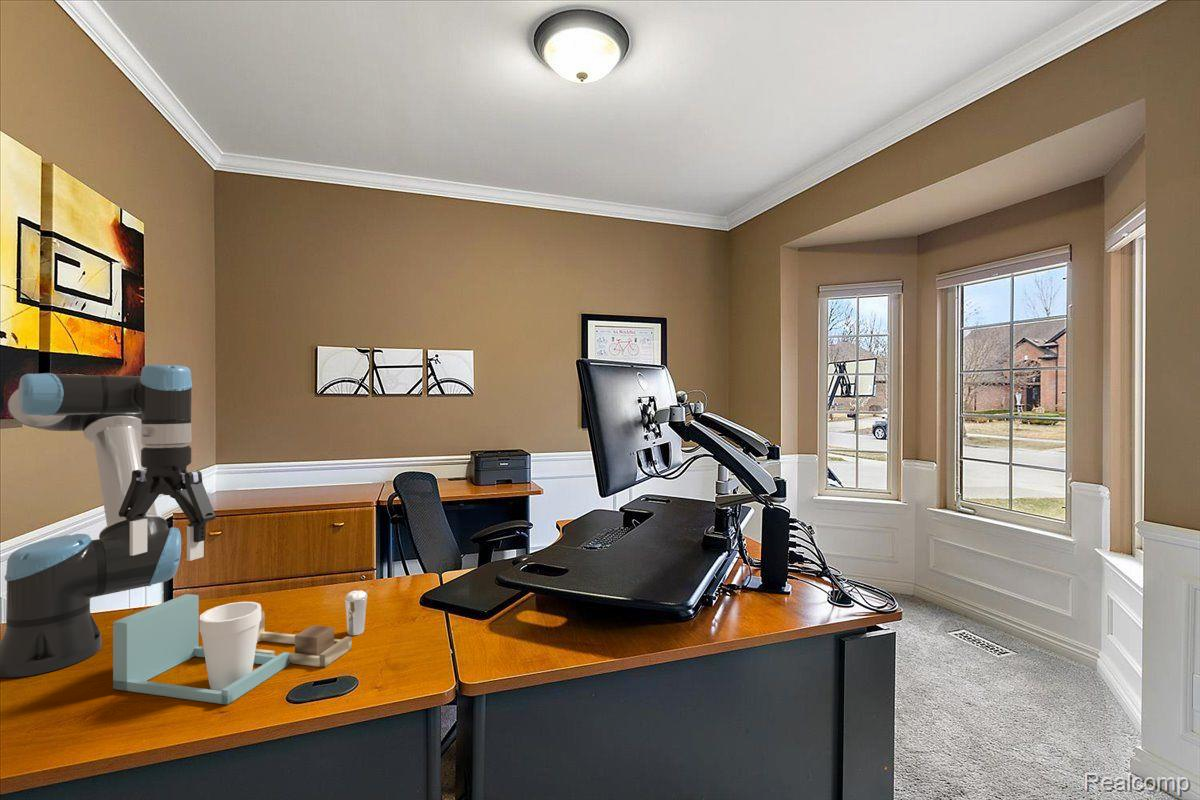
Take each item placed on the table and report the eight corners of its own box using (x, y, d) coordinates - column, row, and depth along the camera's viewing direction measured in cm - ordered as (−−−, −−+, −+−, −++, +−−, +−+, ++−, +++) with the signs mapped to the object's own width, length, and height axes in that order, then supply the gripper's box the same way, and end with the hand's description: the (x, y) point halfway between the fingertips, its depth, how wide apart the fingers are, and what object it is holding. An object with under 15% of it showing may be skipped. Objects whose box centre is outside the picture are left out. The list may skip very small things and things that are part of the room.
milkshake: (361, 638, 117) (362, 592, 117) (340, 636, 118) (340, 590, 118) (374, 629, 121) (374, 585, 121) (353, 627, 122) (353, 583, 122)
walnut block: (294, 660, 107) (294, 635, 107) (312, 648, 112) (312, 625, 112) (316, 663, 106) (316, 637, 106) (333, 651, 111) (334, 627, 111)
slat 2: (280, 662, 106) (280, 649, 106) (309, 643, 114) (309, 632, 114) (325, 667, 104) (325, 655, 104) (351, 648, 112) (351, 636, 112)
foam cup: (188, 687, 97) (188, 615, 97) (242, 664, 105) (242, 598, 105) (217, 701, 92) (217, 626, 92) (271, 676, 101) (272, 607, 101)
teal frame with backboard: (113, 688, 96) (113, 621, 96) (186, 652, 109) (186, 593, 109) (227, 704, 91) (227, 634, 91) (289, 664, 105) (289, 603, 105)
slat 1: (219, 654, 109) (220, 625, 109) (252, 637, 116) (252, 609, 116) (271, 660, 106) (271, 630, 106) (301, 642, 114) (301, 614, 114)
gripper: (94, 445, 102) (94, 557, 102) (201, 449, 97) (201, 567, 97) (136, 442, 109) (136, 546, 109) (237, 445, 104) (237, 555, 104)
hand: (166, 556), depth 103 cm, fingers open, 13 cm apart
